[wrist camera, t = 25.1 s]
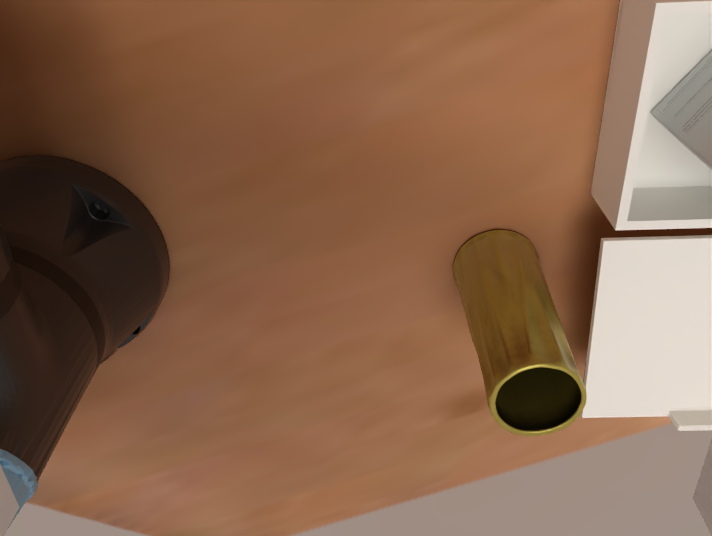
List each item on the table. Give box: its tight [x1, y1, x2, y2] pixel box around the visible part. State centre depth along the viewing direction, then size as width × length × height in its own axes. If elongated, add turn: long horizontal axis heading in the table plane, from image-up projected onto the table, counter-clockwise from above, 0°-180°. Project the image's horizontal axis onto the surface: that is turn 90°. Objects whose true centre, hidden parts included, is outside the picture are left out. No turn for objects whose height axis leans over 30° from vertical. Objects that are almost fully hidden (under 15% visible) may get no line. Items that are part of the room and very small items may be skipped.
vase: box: [453, 230, 587, 436], centre depth 42 cm, size 6×6×14 cm
